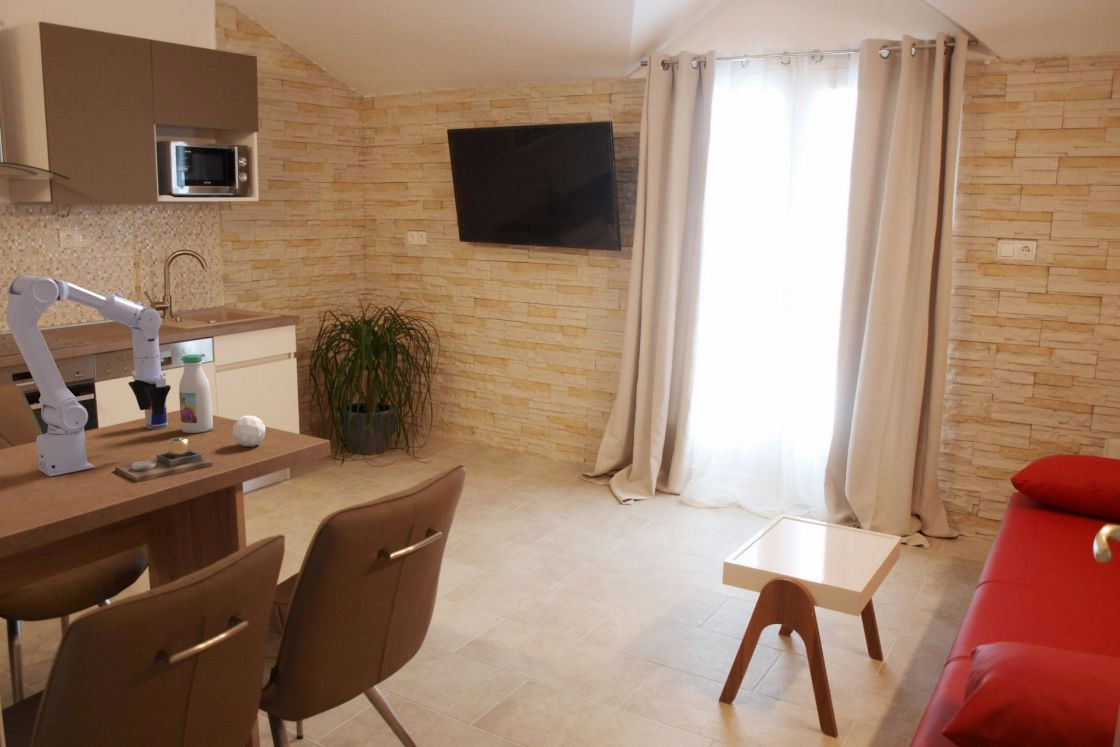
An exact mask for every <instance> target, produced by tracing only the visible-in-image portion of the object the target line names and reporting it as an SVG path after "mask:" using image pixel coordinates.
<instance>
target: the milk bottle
mask: <svg viewBox="0 0 1120 747" xmlns="http://www.w3.org/2000/svg"><path fill="white" fill-rule="evenodd" d="M182 362H183V363H182V364H183V366H184V367H183V368H184V369H183V373H182V376H181V378H180V380H179V384H178V393H179V411H180V412H179V413H180V425H181V430H182V432H183V433H186V434H187V433H188V434H199V433H200V434H201V433H205V432H206V433H207V432H209V431H212V430H213V428H214V422H213V421H214V420H213V408H212V407H213V406H212V394H211V386H210V385H211V384H210V382H209V380H208V377H207V376H206V373H205V372H204V369H203V367H202V364H203V356H202V354H197V353H193V354H185V355H182Z"/></svg>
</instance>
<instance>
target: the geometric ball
mask: <svg viewBox="0 0 1120 747" xmlns="http://www.w3.org/2000/svg"><path fill="white" fill-rule="evenodd" d="M231 432H232V437H233V439H234V440H235V442H236V444H239V445H240V446H243V447H255V446H257V445H259V444H260V443H261V442H262V441H263V439H264V438H265V436H266V425H265V424H264V422H263V421H262V419H260V418H259V417H257V416H255V415H243V416H241V417H240V418H238V419H237V420H236V421H235V423H234V424H233V425H232V431H231Z"/></svg>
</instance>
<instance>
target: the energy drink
mask: <svg viewBox="0 0 1120 747" xmlns="http://www.w3.org/2000/svg"><path fill="white" fill-rule="evenodd" d="M167 410H168V409H167V400H166V401H165V407H164V412H163V414H162V415H156V416H155V415H153V412H152V409H151V404H150V409H147V410H144V417H145V418H144V419H145V420H144V421H145V427H146V428H147V429H148V430H161V429H164V428H167V427H168V425H169V424H168V411H167ZM166 426H167V427H166Z"/></svg>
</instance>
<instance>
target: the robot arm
mask: <svg viewBox="0 0 1120 747" xmlns="http://www.w3.org/2000/svg"><path fill="white" fill-rule="evenodd" d="M6 295H7V307H6V310H7V311H6V315H5V316H6V317H5V321H6V324H7V327H8V328H9V330H10V333H11V335H12V337H13V338H14V342H15V343H16V345H17V348H18V349H19V352H20V353H21V356H22V358H23V360H24V362H25V364H26V365H27V368H28V371H29V373H30V374H31V376H32V379H33V381H34V383H35V386H36V387H37V389H38V390H39V393H40V397H39V398H38V401H39V403H40V407H41V411H40V413H41V418H42V420H43V422H44V423H45V424H47V425H48V426H47V432H46V433H44V434H43V433H42V434H39V435H38V436H36V442H35V443H36V453H37V462H38V467H37V470H39V471H40V472H42V473H44V474H45V475H47V477H54V476H59V475H64V474H70V473H75V472H80V471H83V470H84V471H85V470H90V469H94V468H95V465H94V464H93V463H90V462H88V457H87V456H88V455H87V444H86V435H85V426H86V424H87V422H88V419H89V413H88V411H87V408H85V407H84V406H83V405H82V404H81V403H80V402H79V401H78V400H77V397H76V396H75V395H74V394H73V393H72V392H71V391H70V389H68V387H67V385H66V382H65V380H64V379H63V377H62V374H61V372H60V370H59V368H58V366H57V363H56V361H55V359H54V357H53V355H52V353H51V350H50V348H49V346H48V345H47V342H46V340H45V338H44V336H43V334H42V332H41V329H40V327H39V325H38V322H39V320H40V318H41V317H42V315H43V313H44V312H46V311H47V310H48V309H49V308H50V307H51V306H52V305H53V304H54V303H56V301H58V302H62V301H65V300H68V301H71V302H74V303H77V304H81V305H84V306H87V307H90V308H93V309H96V310H97V312H98V313H99V316H101V317H102V318H104V319H107V320H110V321H113V322H114V323H115V322H116V323H119V324H121V325H124V326H127V327H128V328H130V329H131V337H132V338H131V339H132V340H131V341H132V342H131V343H132V348H133V349H132V351H133V364H134V370H132V372H131V374H132V377H131V378H132V379H133V380H134V381H129V382H128V386H129V388H131V390H132V392H133V394H134V397H135V399H136V403H137V404H138V407H139V410H140V411H145V410H147V409H150V404H151V409H152V412H153V415H155V416H156V415H162V414H163V412H164V407H165V401H166V402H167V397H168V395H169V392H170V390H171V388H172V387H171V385H169V384H167V380H166V378H165V377H167V373H166V372H165V371H162V366H161V364H162V363H161V354H160V353H161V351H160V342H159V340H160V339H159V338H160V337H159V329H160V328H161V326H162V325H163V324H162V323H163V317H161V315H160V312H158V310H157V309H155V308H154V307H153V308H152V307H150V306H149V307H148V306H144V305H143V306H142V303H141V302H140V301H138V300H135V301H131V300H129V299H127V298H124V297H123V296H124V295H123V294H121V293H119V292H115V293H114V294H113V293H108V294H106V295H104V296H103V295H101V294H99V293H95V292H93V291H91V290H88V289H85V288H83V287H81V286H78V285H76V284H74V283H71V282H69V281H66V280H60V279H56V278H51V277H49V276H43V275H41V276H39V275H32V274H28V273H24V274H19V275H18V276H16V277H14V279H13V280H12V281H11V283H10V285H9V286H8V288H7V289H6Z"/></svg>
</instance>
